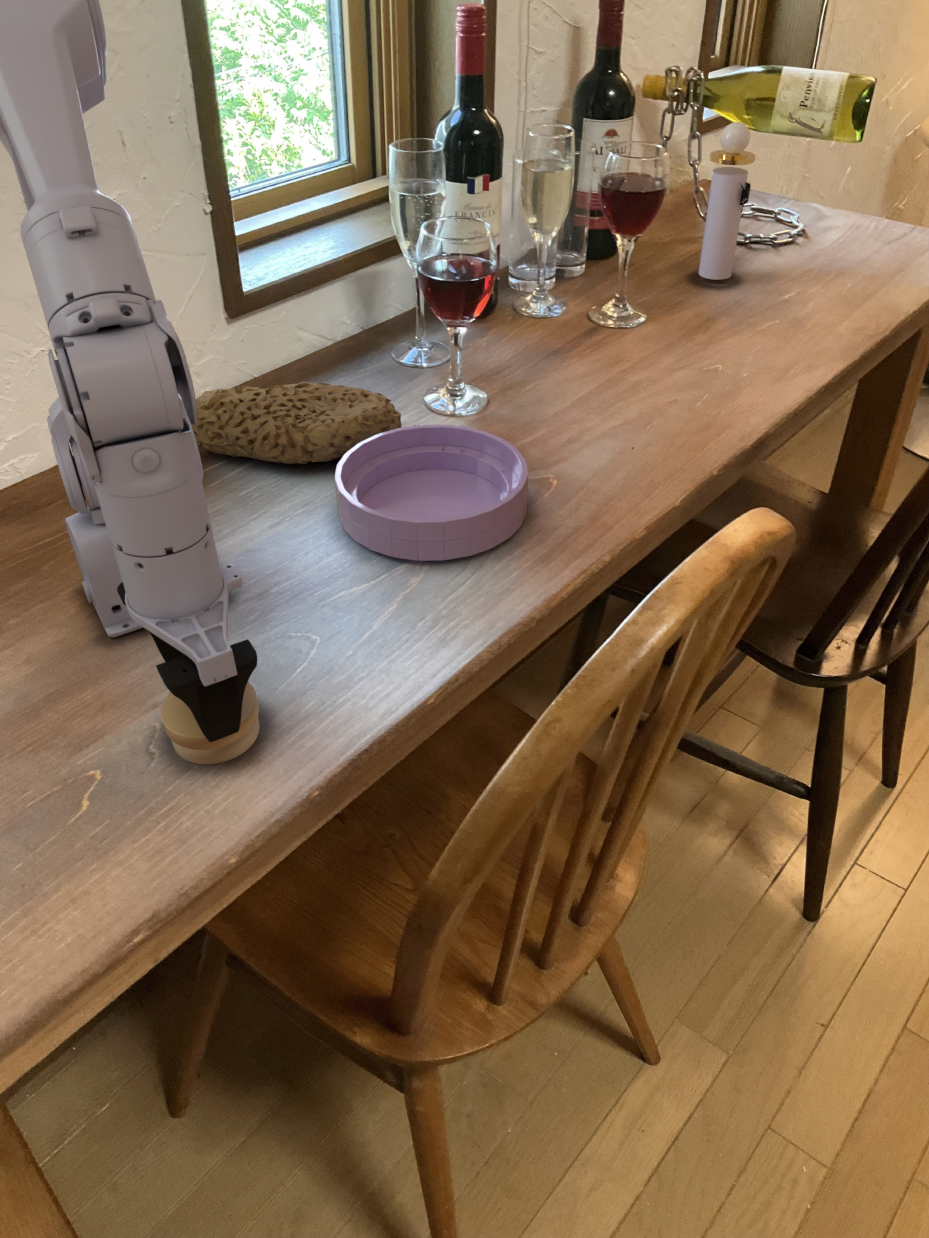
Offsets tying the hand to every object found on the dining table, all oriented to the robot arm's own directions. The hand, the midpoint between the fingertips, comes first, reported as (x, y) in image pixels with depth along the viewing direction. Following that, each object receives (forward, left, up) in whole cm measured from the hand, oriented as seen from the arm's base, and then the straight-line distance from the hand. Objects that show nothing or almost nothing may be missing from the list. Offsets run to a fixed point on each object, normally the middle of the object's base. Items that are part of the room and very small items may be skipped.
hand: (203, 698), depth 65 cm
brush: (0, 0, -3) cm, 4 cm away
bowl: (+27, +17, -3) cm, 32 cm away
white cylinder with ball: (+90, +49, -4) cm, 103 cm away
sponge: (+21, +34, -4) cm, 40 cm away
